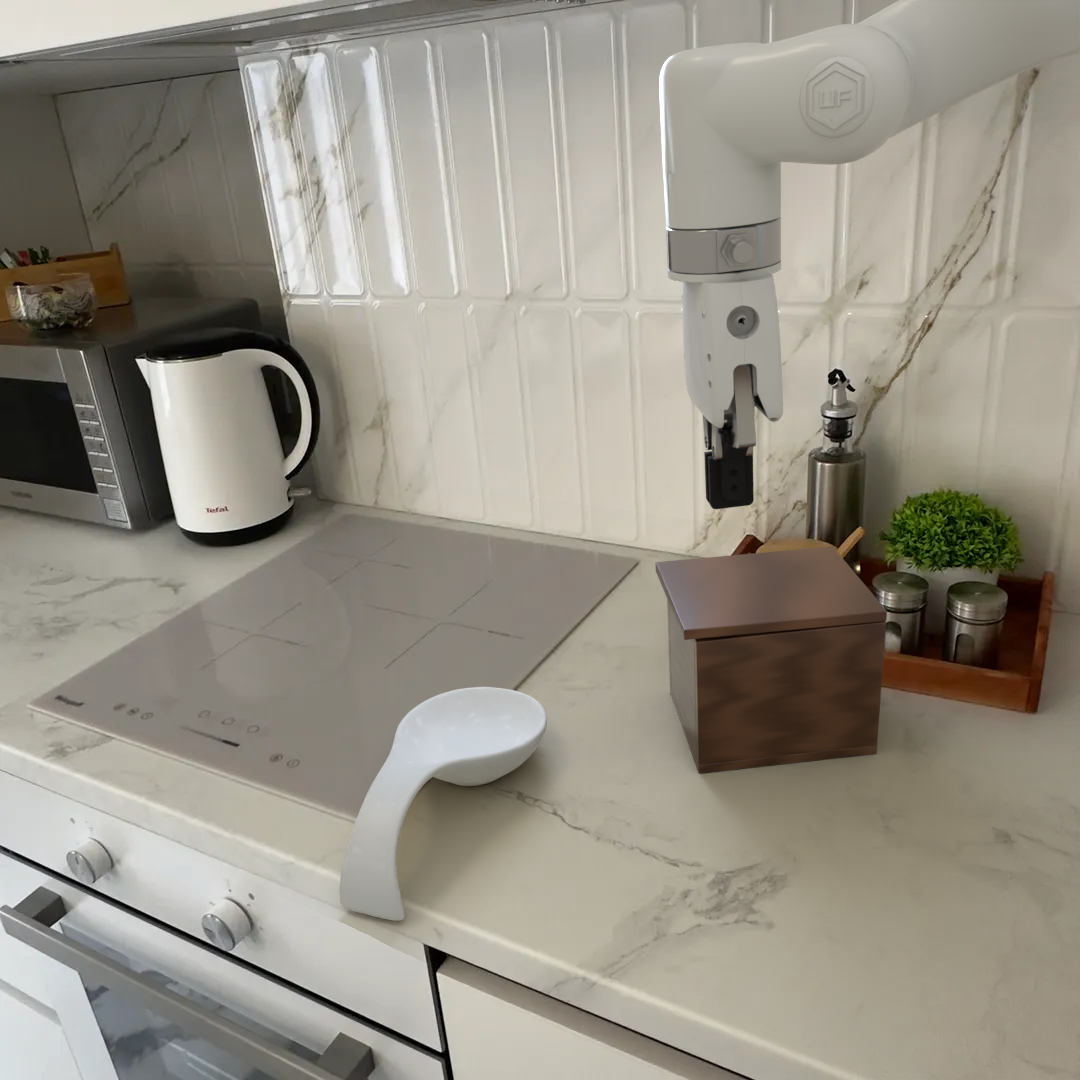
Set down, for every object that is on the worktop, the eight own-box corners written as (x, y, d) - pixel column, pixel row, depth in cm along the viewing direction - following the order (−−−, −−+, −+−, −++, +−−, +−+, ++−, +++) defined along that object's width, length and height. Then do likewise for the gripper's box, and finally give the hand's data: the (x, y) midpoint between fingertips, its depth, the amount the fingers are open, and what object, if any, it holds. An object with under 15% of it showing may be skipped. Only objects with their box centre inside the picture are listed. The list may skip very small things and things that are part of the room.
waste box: (698, 773, 76) (696, 642, 71) (669, 691, 86) (666, 572, 82) (876, 753, 76) (886, 622, 71) (826, 674, 87) (832, 555, 82)
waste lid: (684, 640, 71) (683, 630, 70) (655, 571, 81) (655, 561, 81) (886, 621, 71) (887, 611, 71) (832, 554, 82) (832, 545, 82)
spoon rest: (443, 710, 87) (432, 640, 84) (568, 727, 83) (562, 655, 80) (298, 905, 67) (278, 822, 64) (455, 940, 63) (442, 854, 60)
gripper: (815, 259, 59) (811, 536, 66) (748, 232, 72) (752, 464, 80) (692, 273, 58) (702, 550, 66) (648, 243, 72) (661, 475, 80)
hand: (729, 502), depth 73 cm, fingers closed
